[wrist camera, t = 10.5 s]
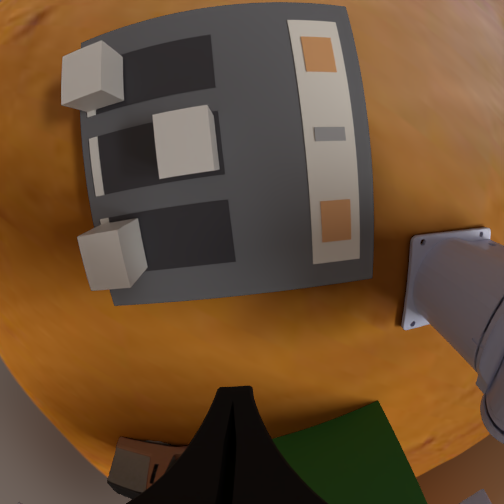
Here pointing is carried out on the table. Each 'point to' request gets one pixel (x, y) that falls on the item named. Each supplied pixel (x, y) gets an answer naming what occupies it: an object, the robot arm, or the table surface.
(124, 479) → the electronic device
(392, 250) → the table surface
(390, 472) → the hardback book
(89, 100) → the tab
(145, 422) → the table surface
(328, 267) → the switch board
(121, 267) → the tab
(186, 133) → the tab middle
